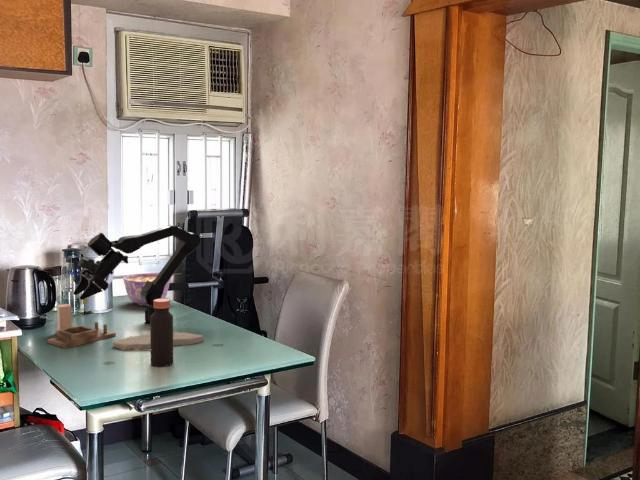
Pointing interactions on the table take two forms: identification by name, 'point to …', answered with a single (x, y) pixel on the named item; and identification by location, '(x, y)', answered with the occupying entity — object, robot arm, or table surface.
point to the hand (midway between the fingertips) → (77, 296)
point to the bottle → (161, 334)
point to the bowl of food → (140, 286)
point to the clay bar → (64, 316)
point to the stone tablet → (145, 341)
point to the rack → (80, 335)
